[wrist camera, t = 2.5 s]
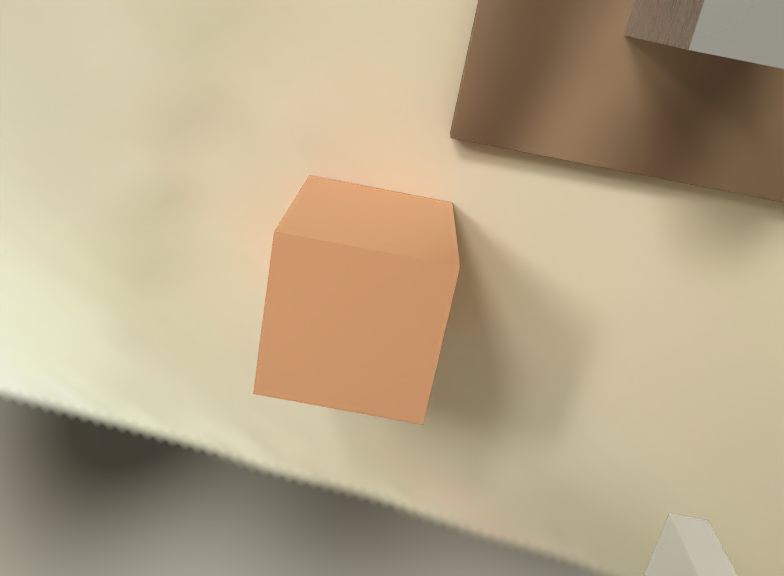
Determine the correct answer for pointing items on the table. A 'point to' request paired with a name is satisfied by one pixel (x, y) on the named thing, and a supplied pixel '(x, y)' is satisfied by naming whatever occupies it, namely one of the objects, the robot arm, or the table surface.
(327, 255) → the orange block
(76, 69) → the table surface
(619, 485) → the table surface
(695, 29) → the post
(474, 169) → the table surface
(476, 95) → the stand
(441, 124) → the table surface
